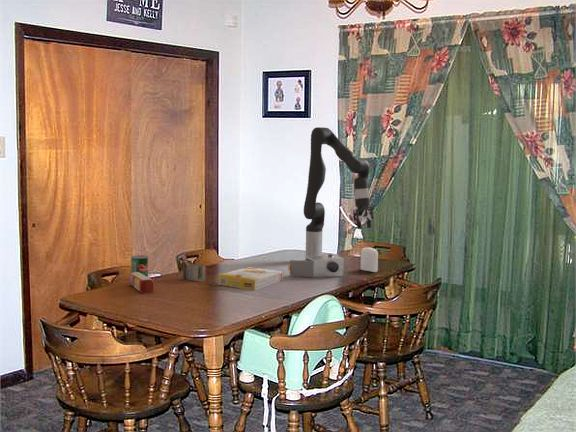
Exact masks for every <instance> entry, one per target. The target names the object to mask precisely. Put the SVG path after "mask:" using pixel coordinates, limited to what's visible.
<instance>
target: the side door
mask: <svg viewBox="0 0 576 432" xmlns="http://www.w3.org/2000/svg"><path fill="white" fill-rule="evenodd" d="M287 271H289V276H291V277H303V278H304V277H306V278H314V277H313V261H305V260H298V259H297V260H293V259H290V261H289V265H287Z"/></svg>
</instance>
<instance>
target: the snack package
mask: <svg viewBox="0 0 576 432" xmlns="http://www.w3.org/2000/svg"><path fill="white" fill-rule="evenodd" d="M128 284H129V285H130V286H133V288H134V289H136V290H137V291H139V292H140V293H141V294H142V295H143V294H144V295H145V294H151V293H153V292H154V290H155V281H154V280H153V279H152V278H150V277H149V276H148V277H146V276H145V275H143V274H141V273H139V272H134V273H131V272H130V273H129V274H128Z"/></svg>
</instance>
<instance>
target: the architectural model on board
mask: <svg viewBox="0 0 576 432" xmlns="http://www.w3.org/2000/svg"><path fill="white" fill-rule="evenodd" d="M182 261H183V264H182V280H185V279H186V280H189V281H197V282H201V283H202V282H205V281H206V265H201V264H193V263H189V262H188V260H182Z"/></svg>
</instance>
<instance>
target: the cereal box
mask: <svg viewBox="0 0 576 432" xmlns="http://www.w3.org/2000/svg"><path fill="white" fill-rule="evenodd" d="M283 280H284V272H283V271H280V270H276V269H275V270H274V269H266V268H259V267H250V266H248V267H244V268H239V269H236V270H232V271H228V272H223V273H219V274H217V285H218V286H225V287H231V288H237V289H240V290H249V291H257V290H259V289H262V288H265V287H268V286H271V285H273V284H276V283H279V282H283Z"/></svg>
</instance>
